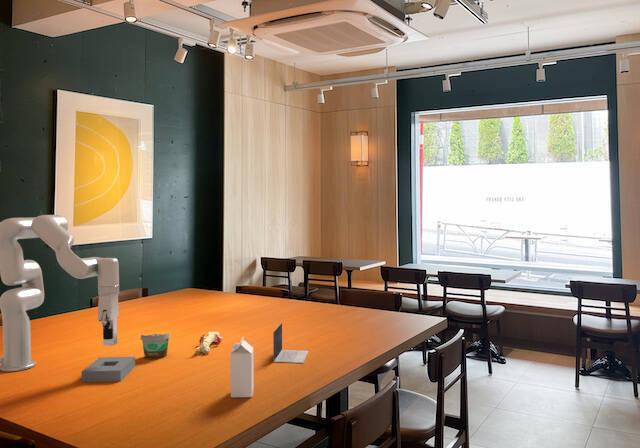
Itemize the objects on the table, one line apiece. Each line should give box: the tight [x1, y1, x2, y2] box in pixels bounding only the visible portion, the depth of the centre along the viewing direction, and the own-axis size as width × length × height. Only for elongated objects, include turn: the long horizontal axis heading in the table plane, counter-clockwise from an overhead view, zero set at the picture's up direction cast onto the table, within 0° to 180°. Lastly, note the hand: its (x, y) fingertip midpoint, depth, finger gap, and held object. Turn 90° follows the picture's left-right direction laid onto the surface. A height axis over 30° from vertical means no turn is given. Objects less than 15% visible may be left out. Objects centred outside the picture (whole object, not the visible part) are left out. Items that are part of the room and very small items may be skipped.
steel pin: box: [102, 317, 118, 347], centre depth 201 cm, size 4×4×11 cm
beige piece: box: [194, 331, 224, 356], centre depth 240 cm, size 10×9×25 cm
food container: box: [140, 332, 171, 360], centre depth 223 cm, size 12×6×10 cm, turn 105°
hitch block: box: [81, 356, 136, 383], centre depth 201 cm, size 14×18×4 cm
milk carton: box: [229, 336, 255, 398], centre depth 179 cm, size 7×7×19 cm
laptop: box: [272, 322, 310, 364], centre depth 224 cm, size 18×12×13 cm
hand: (110, 337), depth 201 cm, fingers closed on steel pin, 4 cm apart
